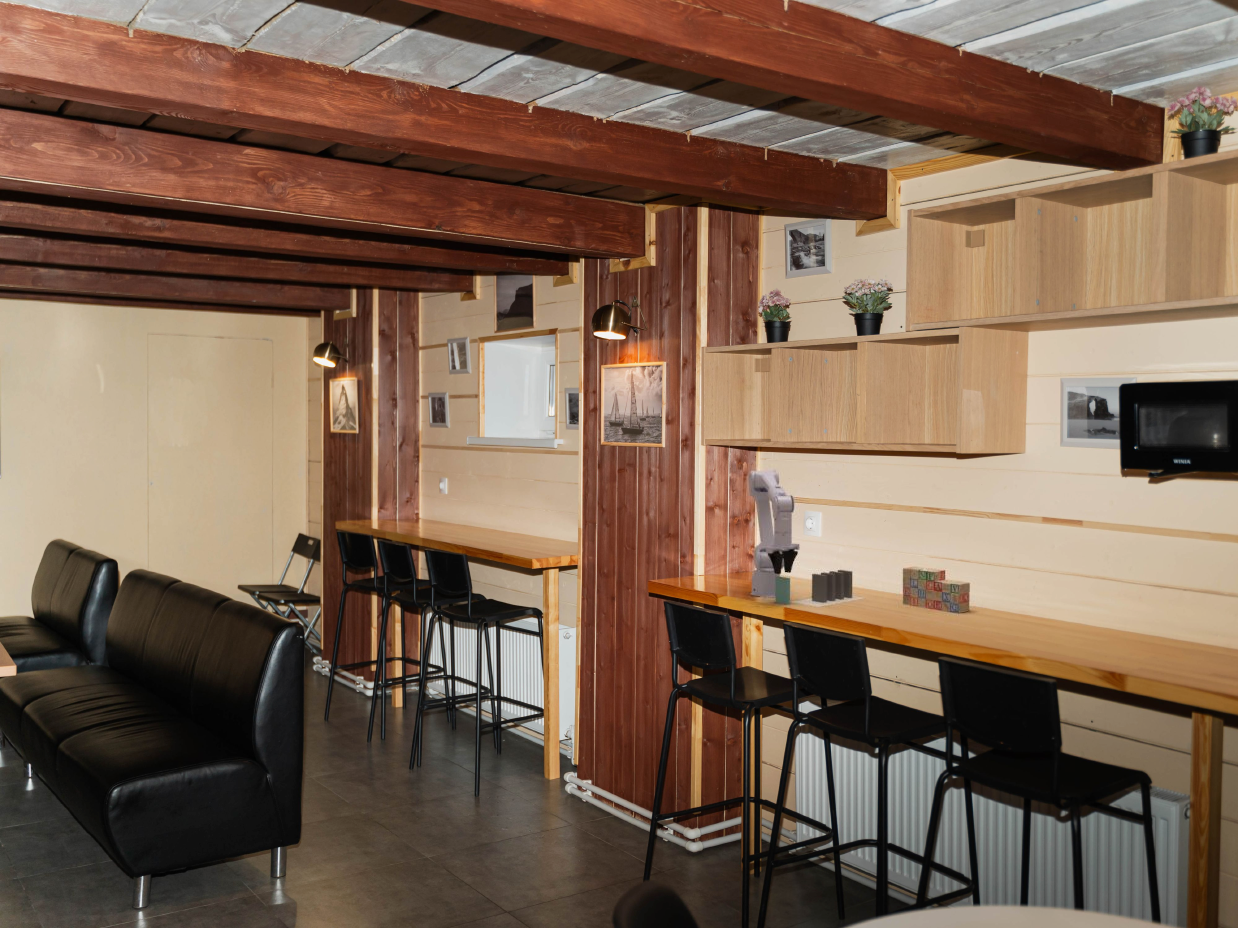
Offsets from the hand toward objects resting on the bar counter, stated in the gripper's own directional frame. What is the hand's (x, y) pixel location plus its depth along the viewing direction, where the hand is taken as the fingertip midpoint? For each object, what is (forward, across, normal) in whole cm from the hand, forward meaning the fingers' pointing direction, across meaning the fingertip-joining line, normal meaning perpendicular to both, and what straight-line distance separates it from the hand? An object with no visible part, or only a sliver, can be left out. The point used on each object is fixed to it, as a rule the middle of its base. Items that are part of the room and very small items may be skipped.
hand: (782, 573), depth 351 cm
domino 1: (+10, 0, 0) cm, 10 cm away
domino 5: (+10, +25, -6) cm, 28 cm away
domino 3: (+10, +16, -6) cm, 20 cm away
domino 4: (+10, +20, -6) cm, 24 cm away
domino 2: (+10, +12, -6) cm, 16 cm away
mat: (+10, +16, -6) cm, 20 cm away
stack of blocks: (+11, +33, -36) cm, 50 cm away
